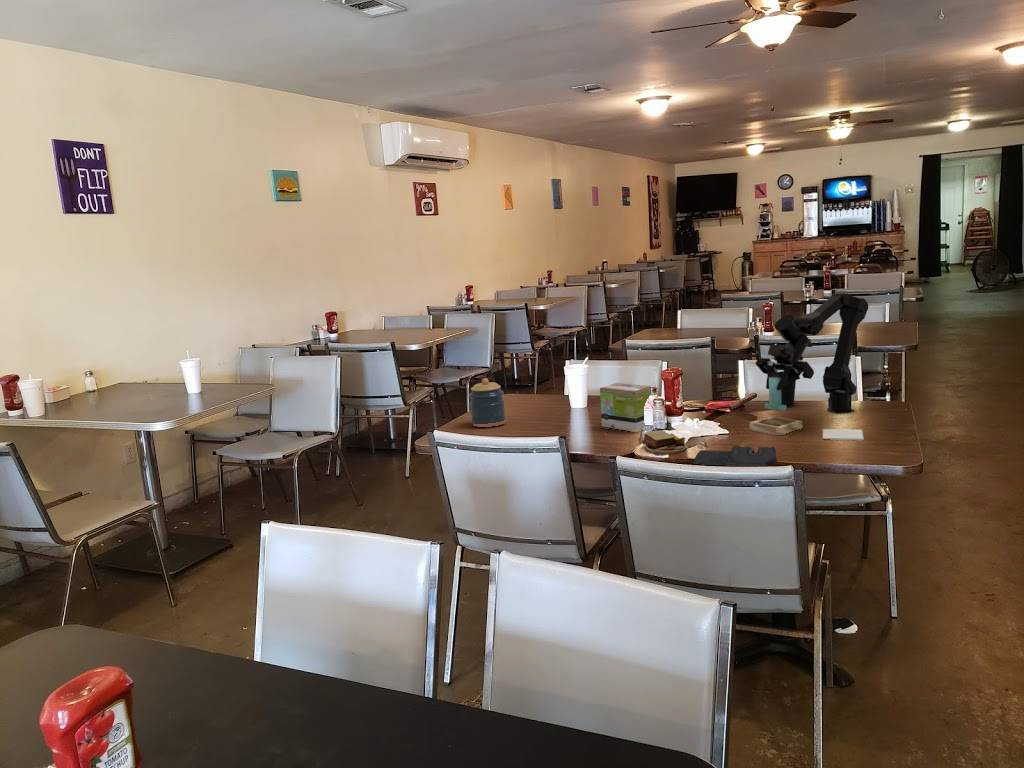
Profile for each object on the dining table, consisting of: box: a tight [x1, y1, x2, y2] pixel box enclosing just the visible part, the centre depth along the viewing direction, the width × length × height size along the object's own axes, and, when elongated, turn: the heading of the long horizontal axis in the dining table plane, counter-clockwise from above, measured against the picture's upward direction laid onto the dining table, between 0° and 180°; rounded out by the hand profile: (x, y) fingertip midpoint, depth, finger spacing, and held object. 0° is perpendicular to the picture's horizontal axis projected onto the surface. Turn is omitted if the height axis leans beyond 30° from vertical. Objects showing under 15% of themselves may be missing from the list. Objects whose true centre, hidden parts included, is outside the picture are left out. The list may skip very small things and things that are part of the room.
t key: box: [764, 377, 787, 412], centre depth 238 cm, size 4×7×10 cm, turn 33°
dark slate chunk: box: [693, 445, 778, 466], centre depth 208 cm, size 15×22×5 cm
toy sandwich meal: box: [641, 430, 688, 455], centre depth 228 cm, size 12×14×5 cm
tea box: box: [599, 382, 652, 431], centre depth 257 cm, size 15×10×15 cm, turn 45°
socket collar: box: [749, 415, 804, 436], centre depth 240 cm, size 11×11×2 cm
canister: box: [468, 377, 507, 424], centre depth 279 cm, size 13×13×18 cm
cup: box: [777, 370, 797, 408], centre depth 271 cm, size 8×8×12 cm
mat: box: [822, 428, 865, 442], centre depth 227 cm, size 11×11×1 cm
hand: (772, 389), depth 237 cm, fingers closed on t key, 4 cm apart
